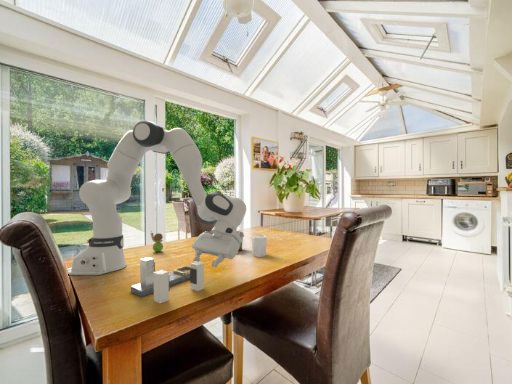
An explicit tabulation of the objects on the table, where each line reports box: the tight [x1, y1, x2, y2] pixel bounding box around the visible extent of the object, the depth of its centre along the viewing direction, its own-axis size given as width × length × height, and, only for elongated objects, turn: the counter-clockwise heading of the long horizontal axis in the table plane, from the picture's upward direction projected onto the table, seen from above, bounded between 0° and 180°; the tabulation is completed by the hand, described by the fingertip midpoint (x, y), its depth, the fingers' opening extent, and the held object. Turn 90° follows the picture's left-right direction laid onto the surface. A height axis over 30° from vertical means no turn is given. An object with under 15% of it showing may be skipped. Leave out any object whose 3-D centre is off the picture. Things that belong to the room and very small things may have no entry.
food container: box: [236, 230, 245, 253], centre depth 138 cm, size 12×6×10 cm, turn 168°
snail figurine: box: [150, 230, 164, 253], centre depth 135 cm, size 5×6×12 cm
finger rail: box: [130, 256, 191, 298], centre depth 91 cm, size 26×7×11 cm, turn 145°
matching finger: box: [189, 261, 205, 292], centre depth 85 cm, size 4×4×9 cm
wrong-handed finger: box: [153, 269, 171, 305], centre depth 77 cm, size 4×4×9 cm
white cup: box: [251, 234, 268, 258], centre depth 128 cm, size 8×8×10 cm
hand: (204, 264), depth 88 cm, fingers open, 8 cm apart
